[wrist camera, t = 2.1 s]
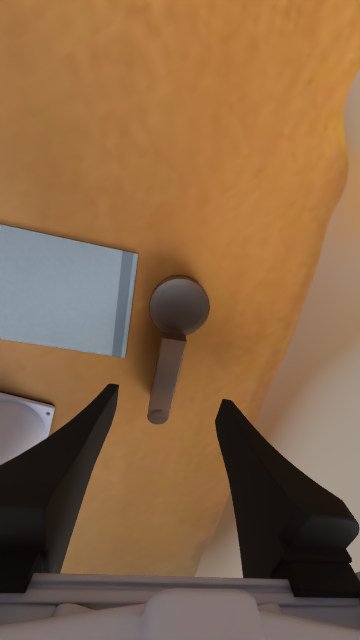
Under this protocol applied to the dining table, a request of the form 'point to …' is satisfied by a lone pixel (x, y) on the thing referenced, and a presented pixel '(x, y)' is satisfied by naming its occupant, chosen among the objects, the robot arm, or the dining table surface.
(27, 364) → the dining table surface
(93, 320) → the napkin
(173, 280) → the spoon
